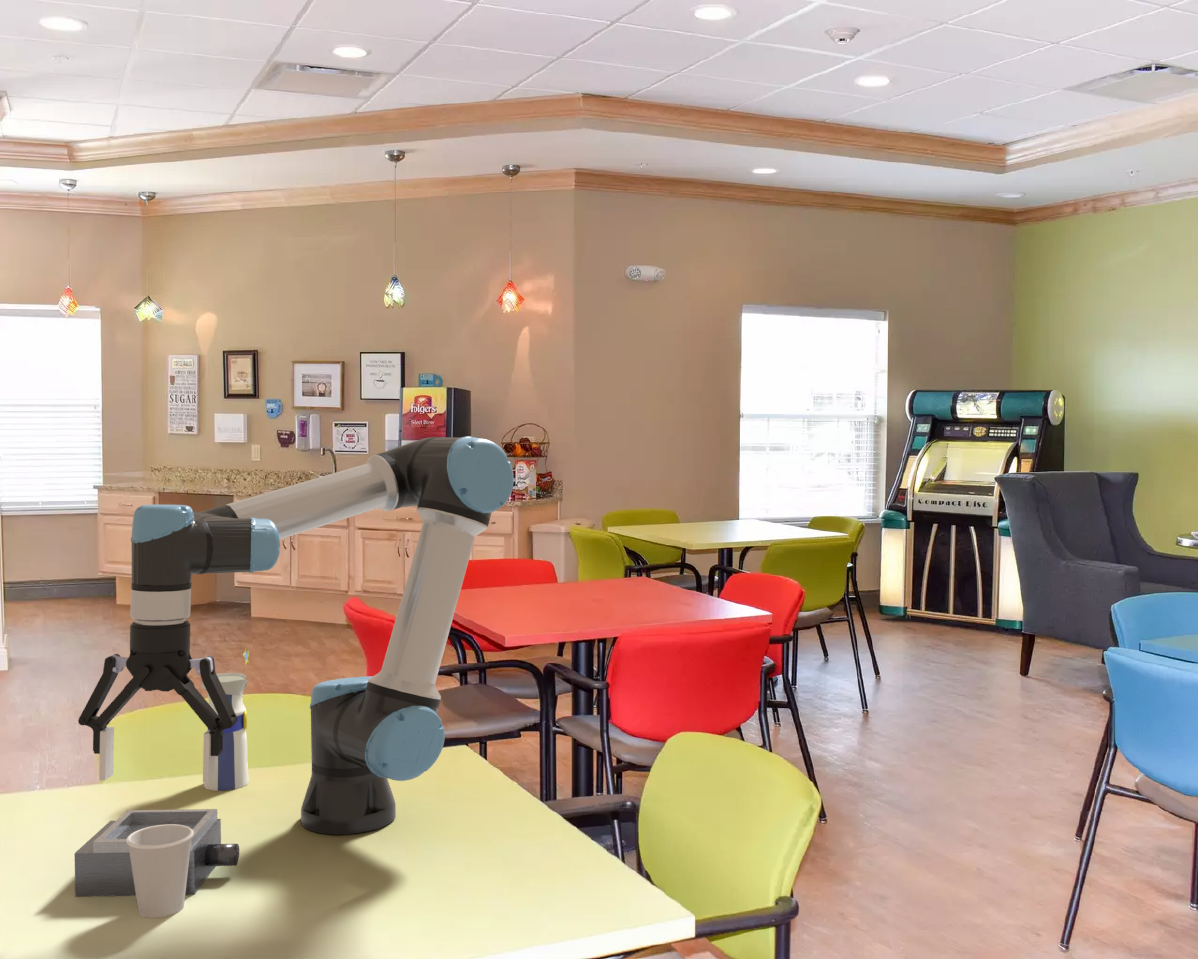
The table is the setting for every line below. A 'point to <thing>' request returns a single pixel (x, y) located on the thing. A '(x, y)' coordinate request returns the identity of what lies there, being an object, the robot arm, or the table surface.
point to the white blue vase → (232, 736)
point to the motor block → (108, 853)
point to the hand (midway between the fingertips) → (157, 778)
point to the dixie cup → (160, 868)
